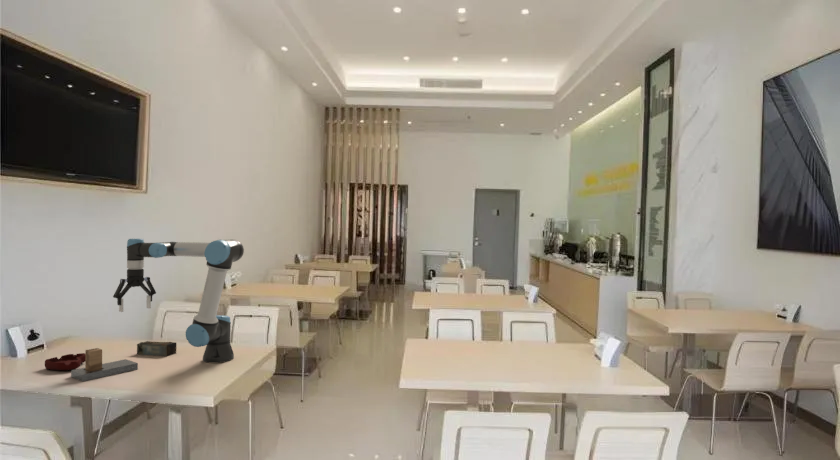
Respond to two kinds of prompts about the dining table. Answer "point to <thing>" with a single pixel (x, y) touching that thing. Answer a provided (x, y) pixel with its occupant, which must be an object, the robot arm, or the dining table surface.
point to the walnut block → (93, 359)
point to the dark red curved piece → (65, 362)
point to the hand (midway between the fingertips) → (135, 309)
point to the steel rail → (105, 370)
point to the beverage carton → (156, 348)
